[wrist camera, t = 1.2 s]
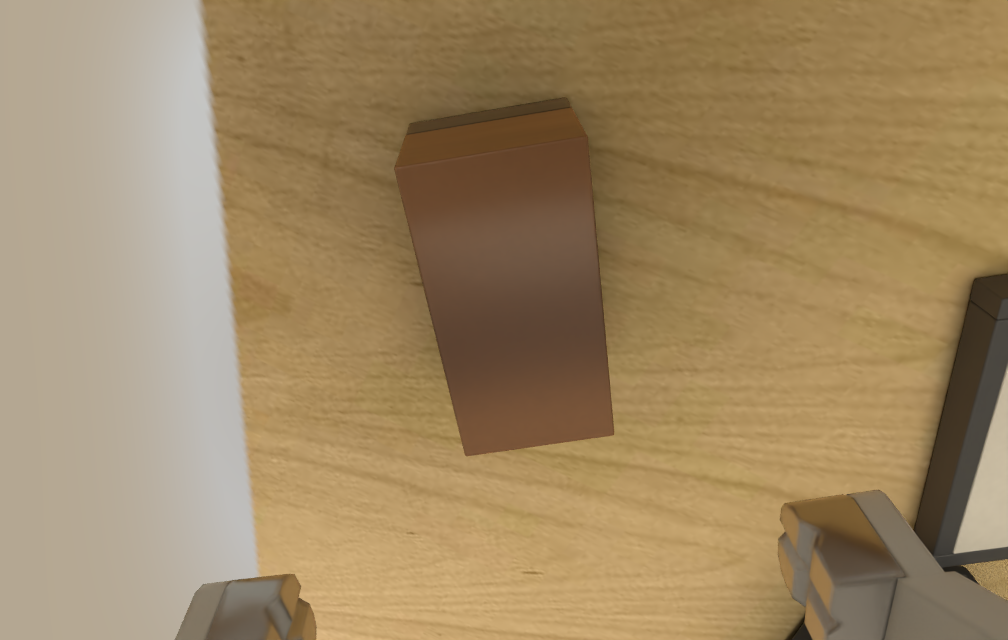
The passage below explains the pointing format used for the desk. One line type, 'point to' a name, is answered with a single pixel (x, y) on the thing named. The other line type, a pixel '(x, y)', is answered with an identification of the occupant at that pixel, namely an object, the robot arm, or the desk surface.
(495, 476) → the desk surface
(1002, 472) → the whiteboard
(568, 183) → the eraser
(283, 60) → the desk surface
